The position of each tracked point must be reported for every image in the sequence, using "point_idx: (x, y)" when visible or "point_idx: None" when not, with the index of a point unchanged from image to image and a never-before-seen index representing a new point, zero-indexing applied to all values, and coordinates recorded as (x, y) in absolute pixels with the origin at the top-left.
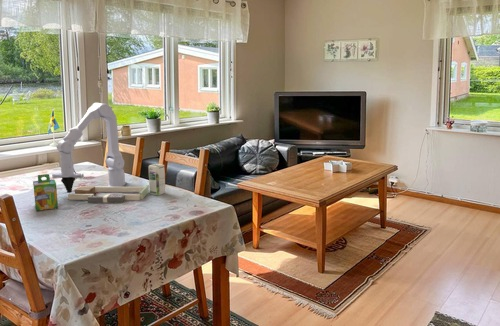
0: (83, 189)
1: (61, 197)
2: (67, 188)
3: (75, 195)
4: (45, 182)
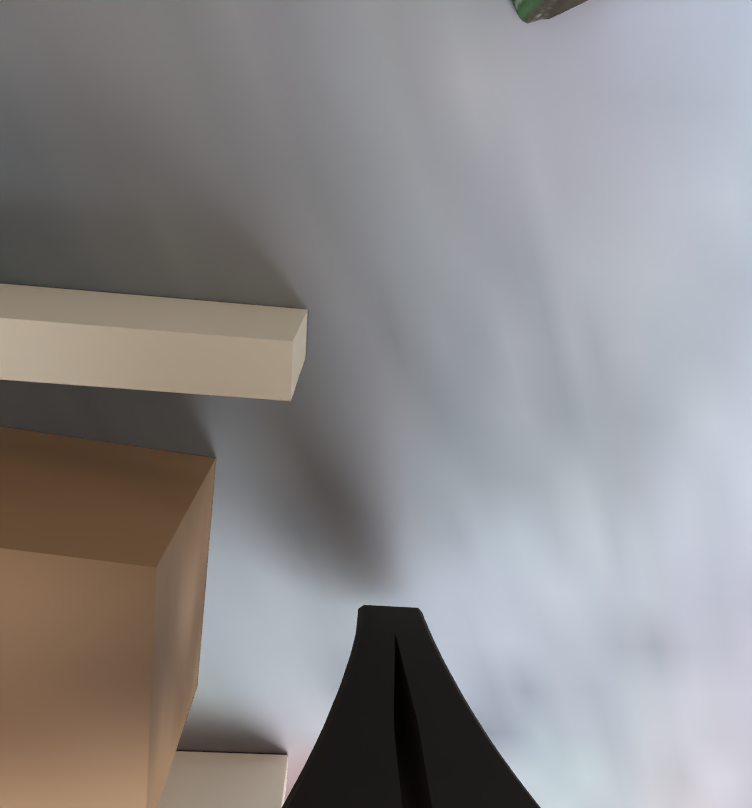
0: None
1: (507, 471)
2: (410, 680)
3: (67, 314)
4: None
